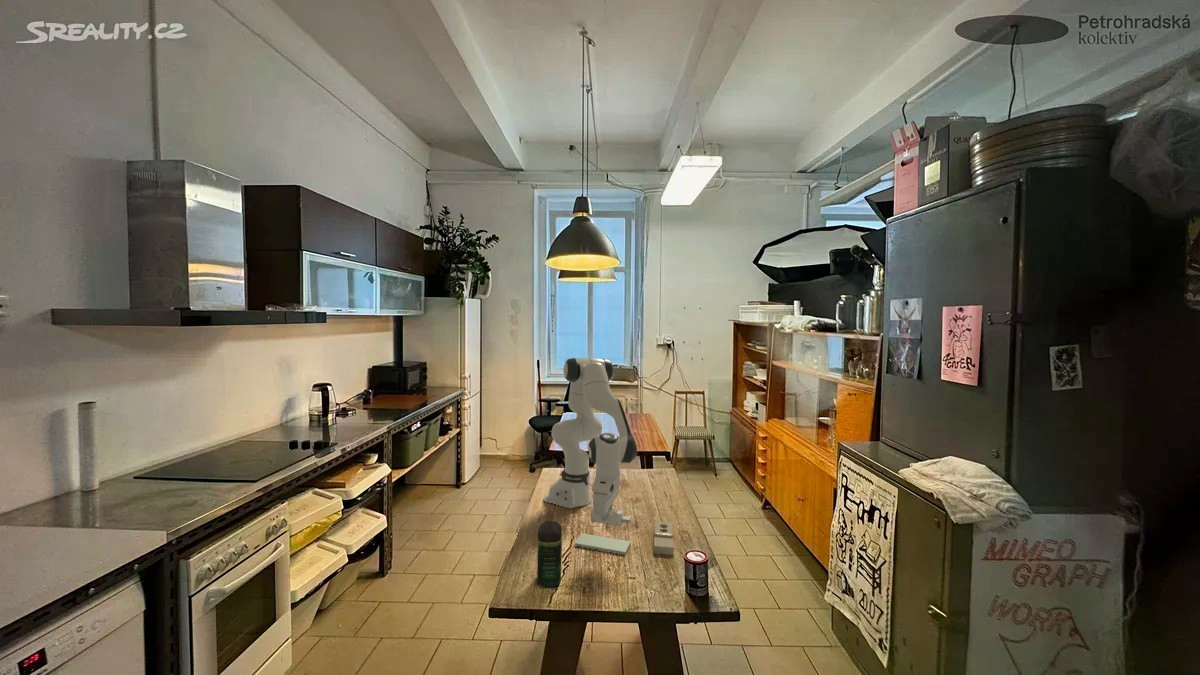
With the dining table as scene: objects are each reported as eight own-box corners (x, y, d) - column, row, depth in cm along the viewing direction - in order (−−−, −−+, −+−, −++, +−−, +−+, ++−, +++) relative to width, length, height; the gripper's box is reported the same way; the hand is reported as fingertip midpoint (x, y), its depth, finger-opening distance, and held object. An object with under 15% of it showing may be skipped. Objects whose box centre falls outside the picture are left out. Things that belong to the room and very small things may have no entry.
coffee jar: (560, 588, 142) (561, 532, 141) (535, 589, 142) (536, 532, 141) (562, 571, 152) (562, 518, 151) (538, 571, 152) (539, 518, 151)
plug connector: (589, 521, 161) (589, 510, 161) (592, 516, 165) (593, 505, 165) (628, 528, 157) (628, 517, 156) (631, 523, 160) (631, 512, 160)
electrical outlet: (654, 543, 164) (654, 521, 182) (653, 554, 165) (654, 530, 182) (673, 545, 163) (672, 522, 181) (673, 555, 164) (672, 532, 181)
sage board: (574, 545, 169) (574, 542, 169) (581, 536, 177) (581, 533, 176) (625, 555, 163) (625, 552, 163) (630, 544, 170) (630, 541, 170)
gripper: (607, 468, 171) (606, 503, 172) (590, 488, 151) (589, 528, 152) (623, 470, 169) (622, 506, 170) (607, 491, 150) (606, 531, 150)
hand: (606, 516), depth 161 cm, fingers closed on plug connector, 4 cm apart
